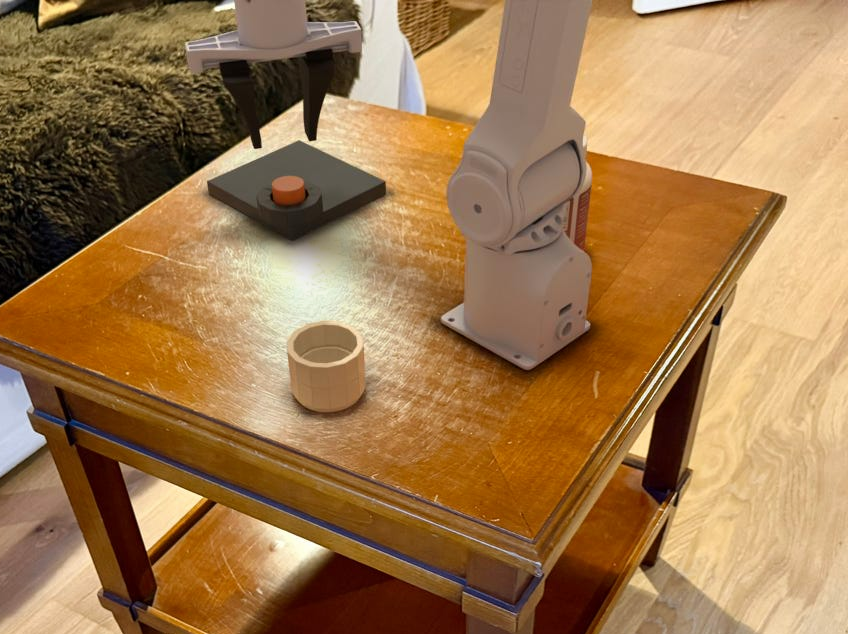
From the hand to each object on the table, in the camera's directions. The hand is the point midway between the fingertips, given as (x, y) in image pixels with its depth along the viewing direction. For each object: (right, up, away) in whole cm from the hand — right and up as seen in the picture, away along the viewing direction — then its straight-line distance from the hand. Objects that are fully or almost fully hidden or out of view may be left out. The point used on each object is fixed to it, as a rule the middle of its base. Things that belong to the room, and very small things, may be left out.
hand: (283, 140), depth 90 cm
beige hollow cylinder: (+5, -23, -13) cm, 27 cm away
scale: (0, -2, +10) cm, 10 cm away
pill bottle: (+23, -10, 0) cm, 26 cm away
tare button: (0, -4, +4) cm, 6 cm away
